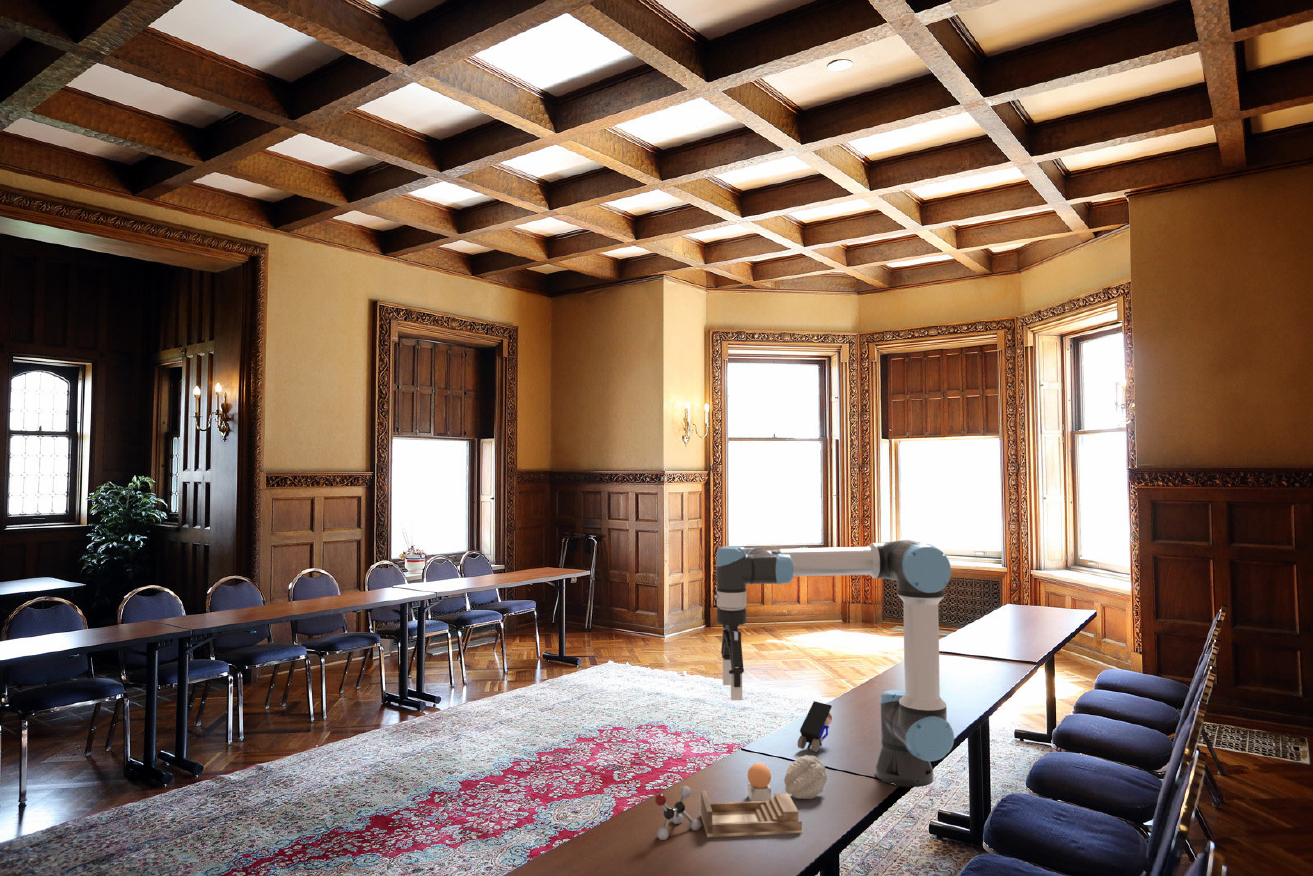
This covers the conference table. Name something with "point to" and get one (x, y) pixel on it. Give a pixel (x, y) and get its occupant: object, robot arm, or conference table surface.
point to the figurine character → (815, 726)
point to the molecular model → (676, 816)
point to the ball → (759, 775)
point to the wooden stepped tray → (750, 817)
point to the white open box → (759, 793)
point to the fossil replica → (805, 777)
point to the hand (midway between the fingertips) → (732, 692)
